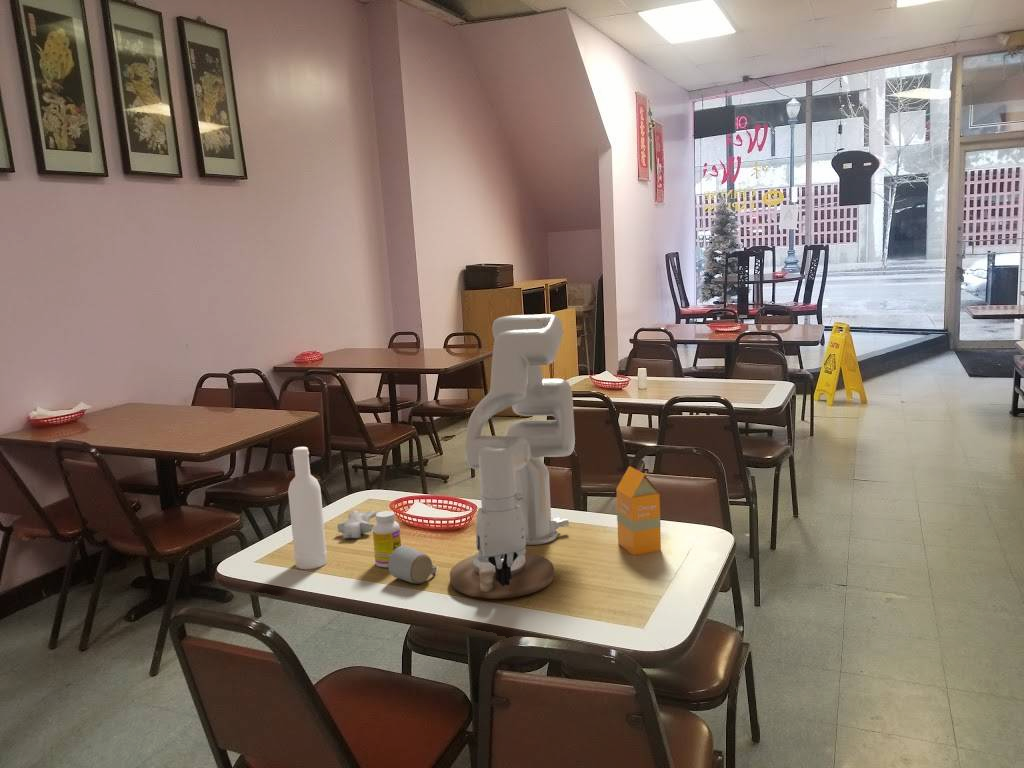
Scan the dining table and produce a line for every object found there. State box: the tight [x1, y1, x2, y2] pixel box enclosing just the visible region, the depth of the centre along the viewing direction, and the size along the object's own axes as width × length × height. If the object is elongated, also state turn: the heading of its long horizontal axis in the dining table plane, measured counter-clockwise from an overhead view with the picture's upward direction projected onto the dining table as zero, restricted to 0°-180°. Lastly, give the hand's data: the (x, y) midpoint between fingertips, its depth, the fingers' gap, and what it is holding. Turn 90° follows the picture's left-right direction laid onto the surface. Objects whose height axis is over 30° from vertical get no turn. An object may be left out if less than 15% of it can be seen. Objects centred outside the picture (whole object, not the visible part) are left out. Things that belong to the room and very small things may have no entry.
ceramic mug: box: [387, 545, 438, 585], centre depth 183 cm, size 11×8×8 cm
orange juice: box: [615, 465, 662, 556], centre depth 194 cm, size 8×9×20 cm
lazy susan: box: [449, 551, 555, 600], centre depth 178 cm, size 24×24×6 cm
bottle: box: [287, 446, 328, 570], centre depth 193 cm, size 8×8×30 cm
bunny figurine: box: [337, 509, 378, 539], centre depth 218 cm, size 10×5×15 cm
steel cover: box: [473, 551, 526, 579], centre depth 179 cm, size 12×12×3 cm
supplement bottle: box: [372, 510, 402, 568], centre depth 192 cm, size 7×7×13 cm
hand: (503, 583), depth 168 cm, fingers closed
